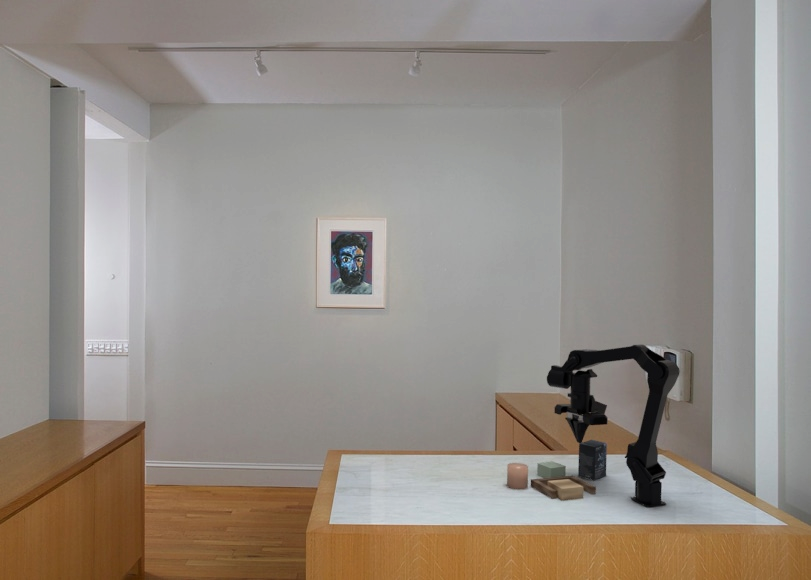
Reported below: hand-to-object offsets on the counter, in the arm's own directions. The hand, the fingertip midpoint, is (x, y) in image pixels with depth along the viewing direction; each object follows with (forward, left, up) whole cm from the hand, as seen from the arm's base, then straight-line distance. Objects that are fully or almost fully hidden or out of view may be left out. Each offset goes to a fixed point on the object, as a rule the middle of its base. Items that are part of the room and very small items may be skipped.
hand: (579, 442), depth 173 cm
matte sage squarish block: (+7, +5, -12) cm, 15 cm away
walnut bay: (-4, +9, -12) cm, 16 cm away
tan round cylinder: (+2, +20, -12) cm, 23 cm away
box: (+4, -8, -12) cm, 15 cm away
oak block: (-9, +11, -12) cm, 19 cm away
